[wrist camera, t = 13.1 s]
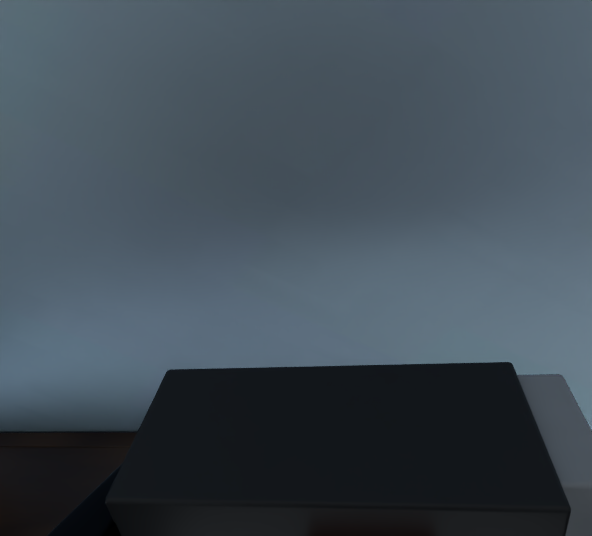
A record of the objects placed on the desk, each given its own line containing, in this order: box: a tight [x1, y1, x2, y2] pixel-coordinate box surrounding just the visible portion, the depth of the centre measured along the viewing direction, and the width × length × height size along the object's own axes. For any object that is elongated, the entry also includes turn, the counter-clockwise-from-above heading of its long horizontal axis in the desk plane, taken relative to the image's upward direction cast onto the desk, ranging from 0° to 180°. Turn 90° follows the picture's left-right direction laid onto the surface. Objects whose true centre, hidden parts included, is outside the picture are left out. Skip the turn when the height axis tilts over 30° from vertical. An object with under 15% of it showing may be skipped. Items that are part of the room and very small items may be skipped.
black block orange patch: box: [105, 362, 592, 536], centre depth 8 cm, size 7×3×3 cm, turn 97°
